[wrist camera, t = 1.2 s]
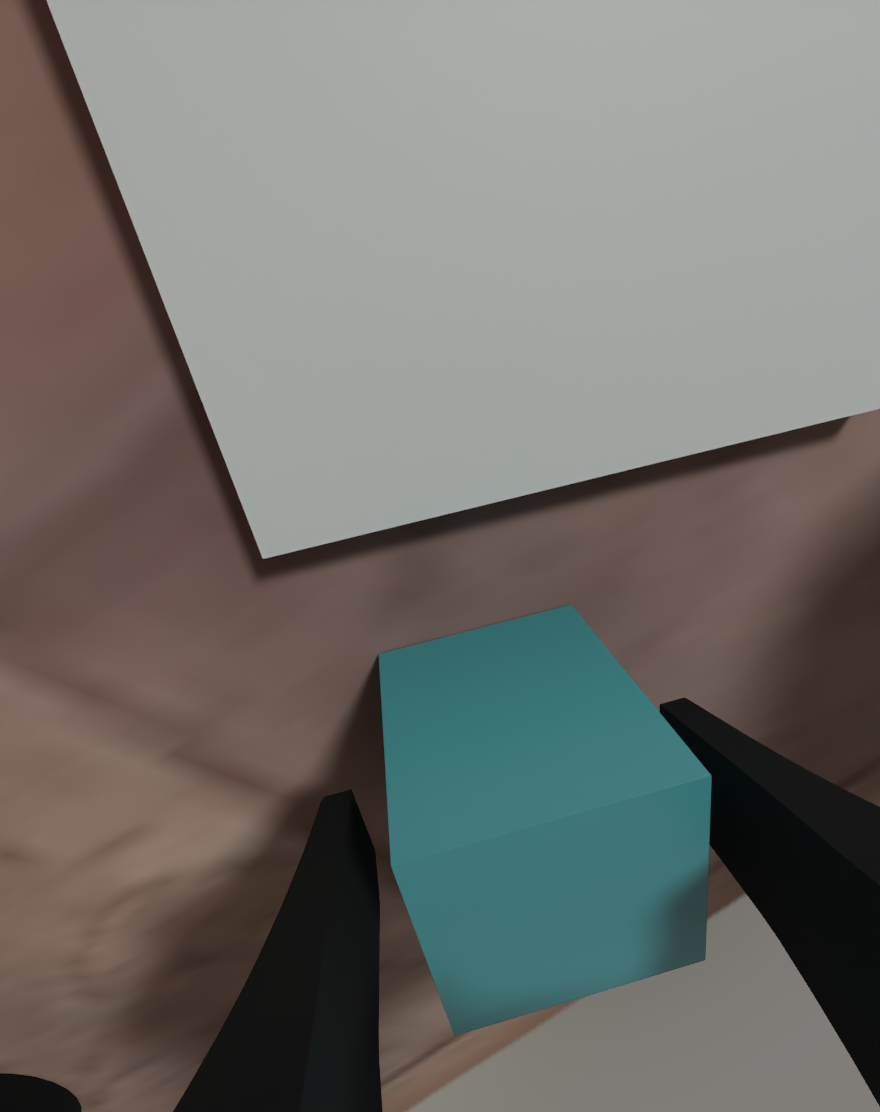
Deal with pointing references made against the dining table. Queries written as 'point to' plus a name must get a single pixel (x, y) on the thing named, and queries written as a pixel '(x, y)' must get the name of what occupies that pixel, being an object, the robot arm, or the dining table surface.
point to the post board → (493, 234)
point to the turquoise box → (539, 818)
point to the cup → (34, 1095)
